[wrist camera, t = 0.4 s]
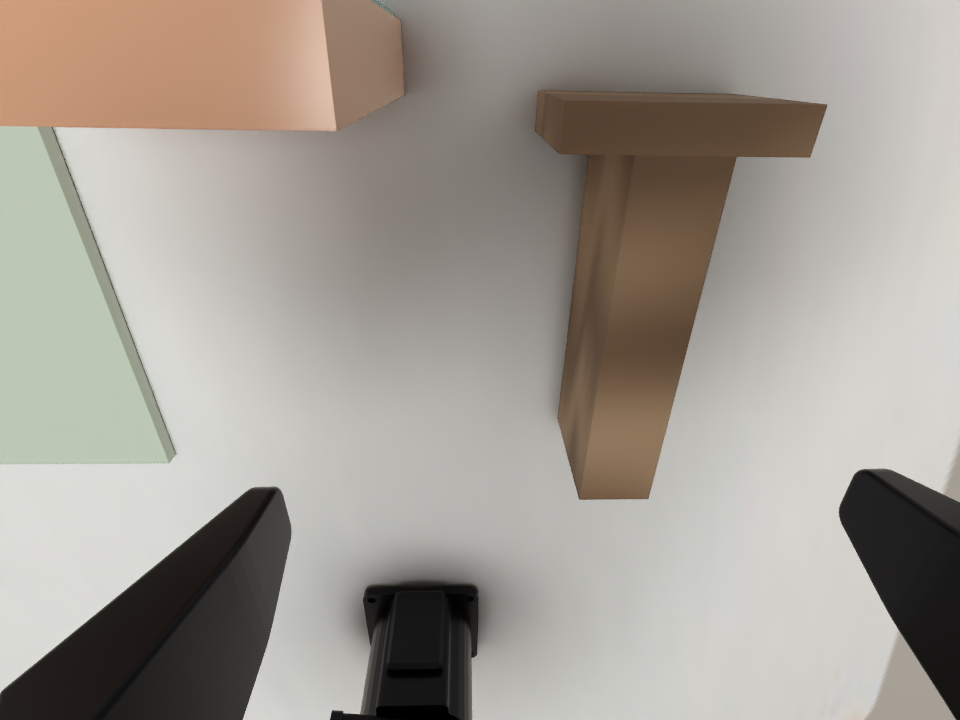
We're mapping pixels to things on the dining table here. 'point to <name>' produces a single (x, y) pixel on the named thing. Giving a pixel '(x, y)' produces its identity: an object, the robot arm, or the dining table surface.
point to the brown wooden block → (646, 256)
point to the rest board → (63, 326)
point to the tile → (197, 63)
